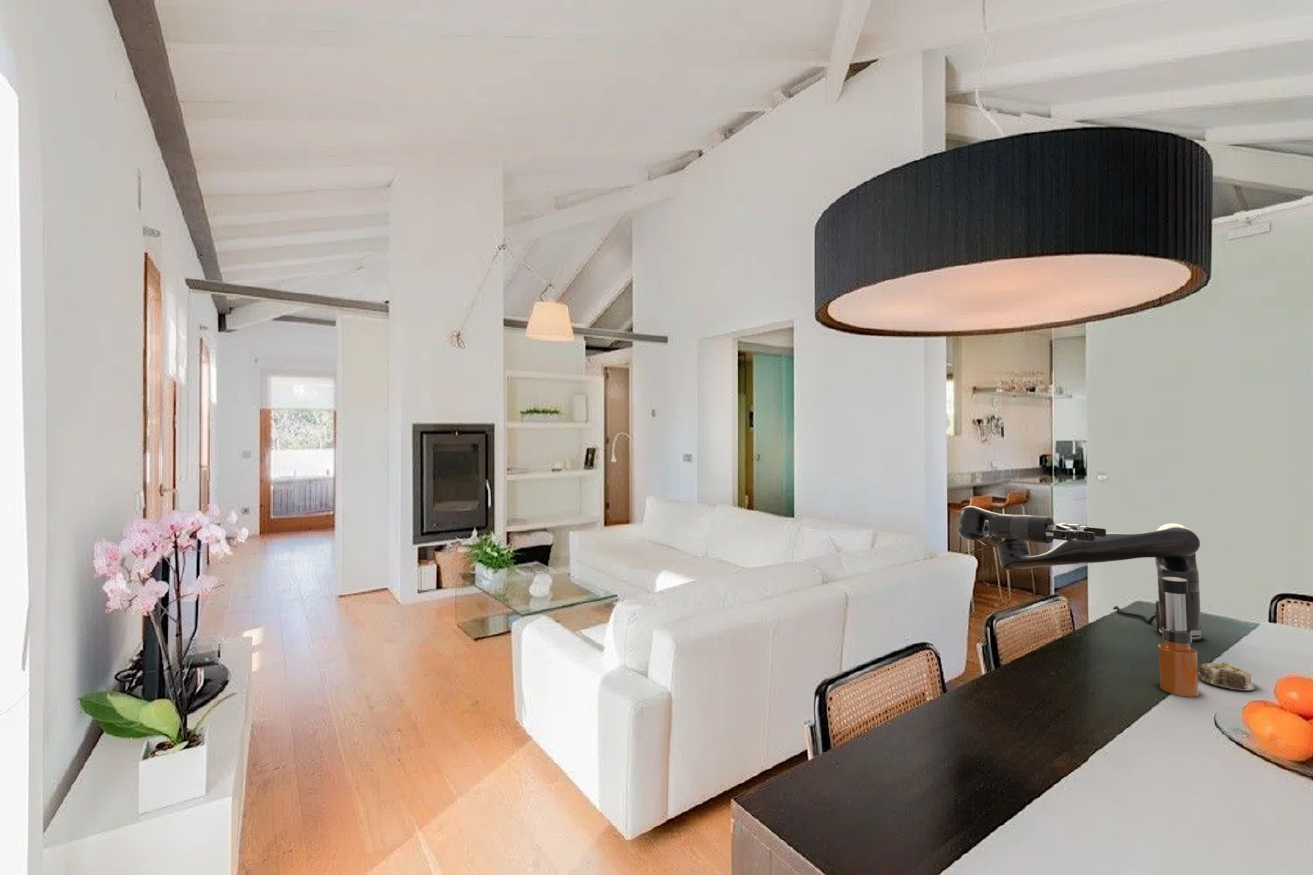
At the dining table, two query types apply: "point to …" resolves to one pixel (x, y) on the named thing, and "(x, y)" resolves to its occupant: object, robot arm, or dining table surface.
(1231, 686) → the cake
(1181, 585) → the silver shaker
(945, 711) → the dining table surface
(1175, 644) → the bottle
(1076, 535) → the robot arm
